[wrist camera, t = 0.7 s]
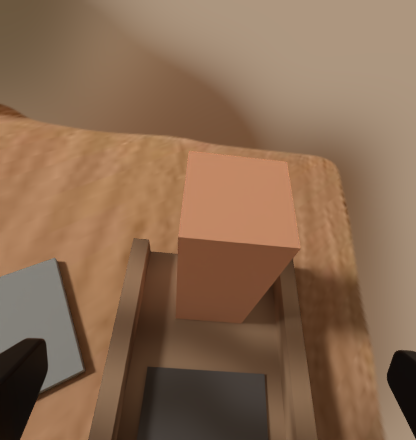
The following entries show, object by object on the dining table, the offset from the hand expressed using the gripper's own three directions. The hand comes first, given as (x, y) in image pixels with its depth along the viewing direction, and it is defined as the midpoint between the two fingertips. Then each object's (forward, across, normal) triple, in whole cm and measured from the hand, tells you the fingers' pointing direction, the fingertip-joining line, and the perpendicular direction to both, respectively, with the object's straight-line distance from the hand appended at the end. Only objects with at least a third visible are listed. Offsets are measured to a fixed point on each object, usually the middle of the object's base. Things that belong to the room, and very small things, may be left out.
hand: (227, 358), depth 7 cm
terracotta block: (+14, -1, +6) cm, 16 cm away
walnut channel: (+11, -1, +10) cm, 15 cm away
